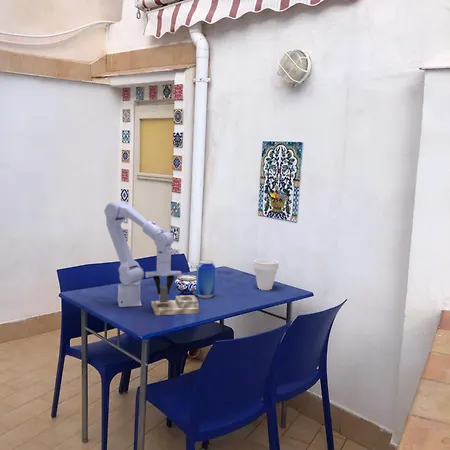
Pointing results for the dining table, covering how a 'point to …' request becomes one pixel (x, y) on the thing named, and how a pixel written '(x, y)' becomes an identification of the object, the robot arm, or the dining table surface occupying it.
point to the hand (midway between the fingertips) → (163, 293)
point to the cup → (265, 272)
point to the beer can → (205, 279)
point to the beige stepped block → (176, 306)
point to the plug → (163, 294)
